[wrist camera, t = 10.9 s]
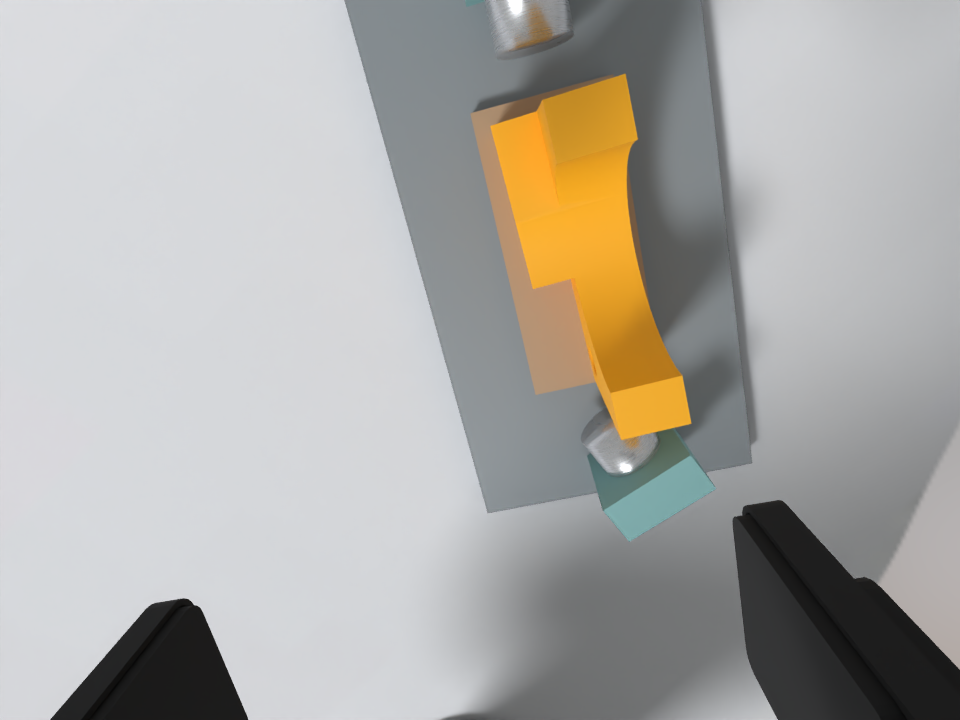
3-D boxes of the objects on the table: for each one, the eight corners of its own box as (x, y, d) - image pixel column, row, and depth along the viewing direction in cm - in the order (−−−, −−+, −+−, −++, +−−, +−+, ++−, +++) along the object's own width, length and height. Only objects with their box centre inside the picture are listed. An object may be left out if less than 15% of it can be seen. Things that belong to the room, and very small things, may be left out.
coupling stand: (742, 452, 30) (800, 520, 24) (488, 501, 31) (484, 576, 26) (676, -121, 22) (738, -228, 16) (344, -18, 24) (292, -82, 18)
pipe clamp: (492, 132, 24) (487, 117, 17) (593, 100, 23) (625, 73, 17) (559, 388, 27) (574, 451, 21) (648, 366, 27) (691, 423, 20)
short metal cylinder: (679, 458, 28) (698, 490, 25) (628, 490, 29) (642, 525, 26) (628, 392, 27) (642, 418, 24) (577, 427, 28) (585, 455, 25)
